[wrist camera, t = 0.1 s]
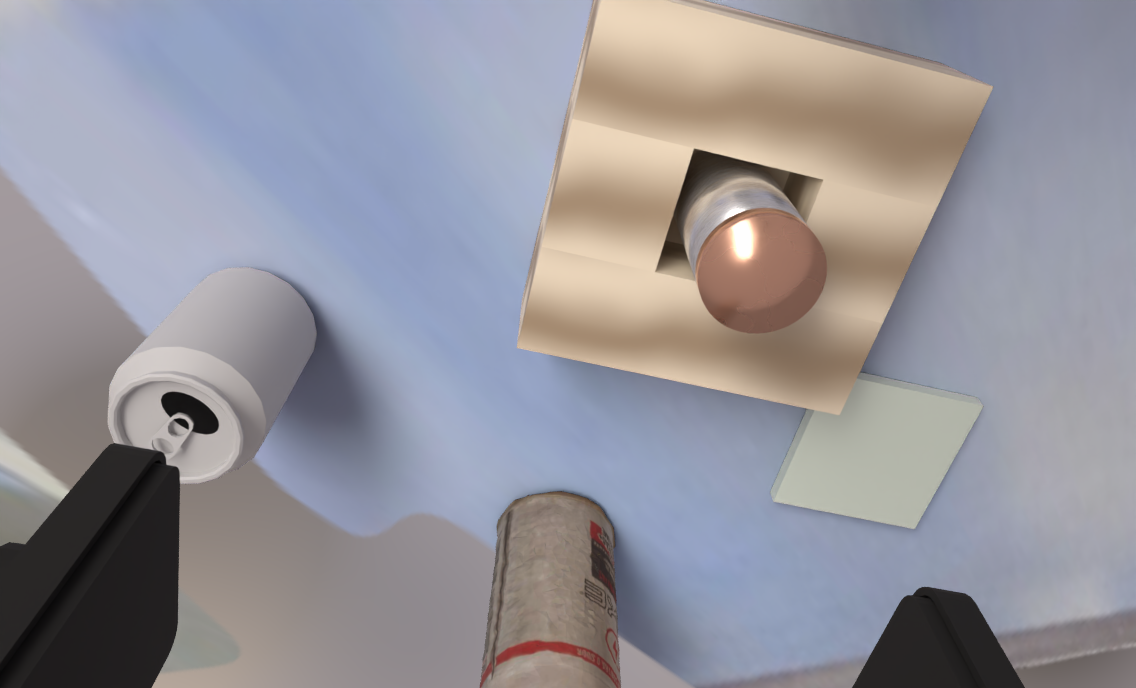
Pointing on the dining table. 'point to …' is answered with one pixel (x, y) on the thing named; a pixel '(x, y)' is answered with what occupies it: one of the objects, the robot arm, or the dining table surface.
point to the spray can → (553, 597)
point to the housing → (751, 133)
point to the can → (214, 373)
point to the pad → (876, 451)
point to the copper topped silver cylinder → (747, 245)
